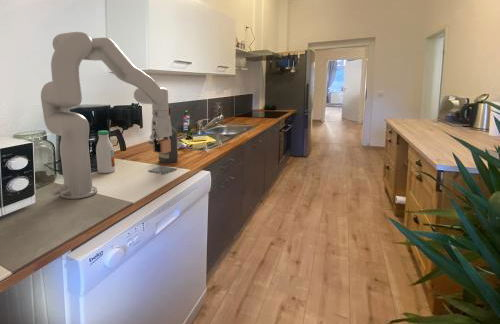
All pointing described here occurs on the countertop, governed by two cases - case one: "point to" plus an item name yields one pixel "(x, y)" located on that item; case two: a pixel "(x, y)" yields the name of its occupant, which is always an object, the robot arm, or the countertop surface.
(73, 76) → the robot arm
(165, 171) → the coaster
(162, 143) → the cube
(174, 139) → the liquor
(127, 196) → the countertop surface
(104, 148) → the milk bottle
